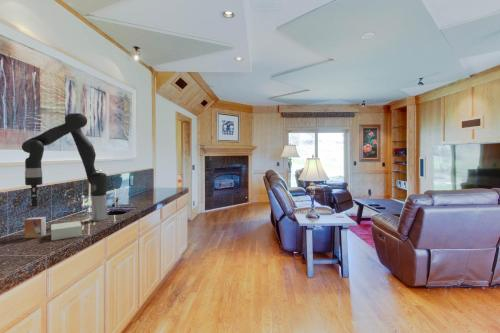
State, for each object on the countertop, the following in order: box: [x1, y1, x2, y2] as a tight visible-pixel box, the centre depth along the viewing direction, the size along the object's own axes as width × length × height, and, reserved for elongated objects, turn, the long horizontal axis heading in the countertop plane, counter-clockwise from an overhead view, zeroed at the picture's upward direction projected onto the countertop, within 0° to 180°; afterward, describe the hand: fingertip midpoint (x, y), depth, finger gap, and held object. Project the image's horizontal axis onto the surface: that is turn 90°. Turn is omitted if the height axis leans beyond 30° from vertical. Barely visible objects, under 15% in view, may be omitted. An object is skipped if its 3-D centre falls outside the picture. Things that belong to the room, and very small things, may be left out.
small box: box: [24, 216, 47, 239], centre depth 152 cm, size 8×6×10 cm
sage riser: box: [50, 220, 83, 241], centre depth 155 cm, size 14×14×6 cm
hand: (34, 205), depth 151 cm, fingers open, 8 cm apart
